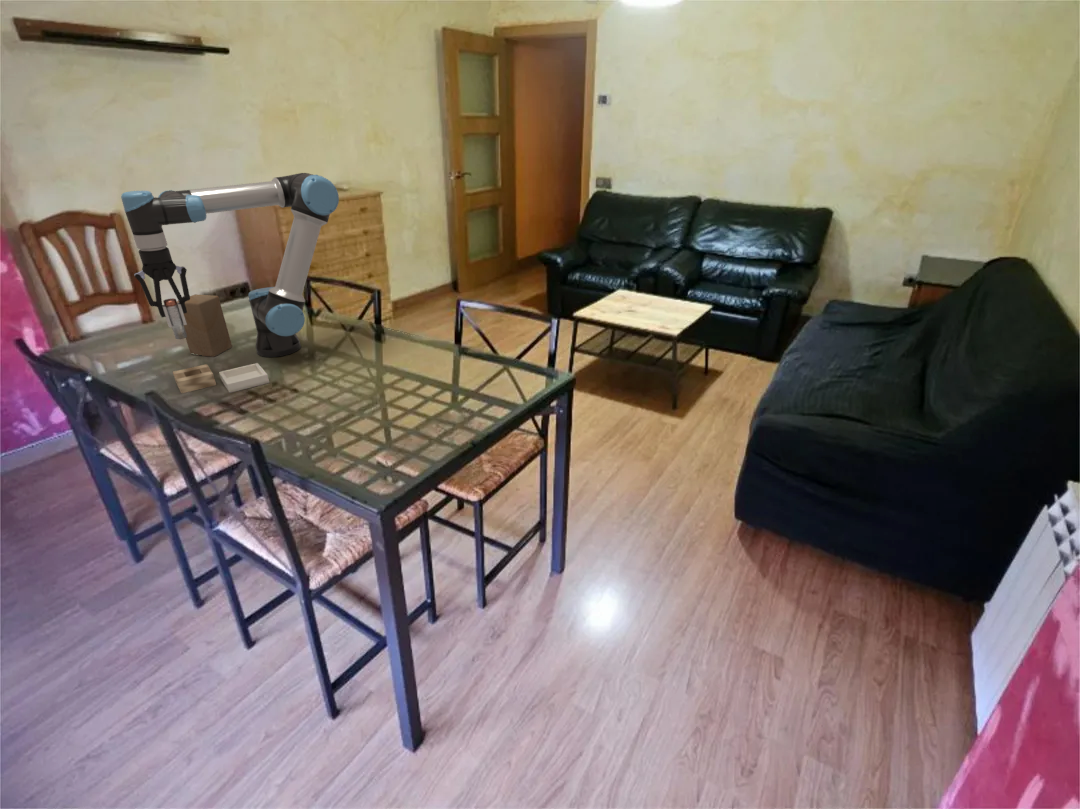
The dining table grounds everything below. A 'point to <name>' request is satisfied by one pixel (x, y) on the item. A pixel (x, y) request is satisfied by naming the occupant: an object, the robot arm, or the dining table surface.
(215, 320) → the wooden block
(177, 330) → the pin
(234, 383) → the tray
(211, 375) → the block
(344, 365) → the dining table surface
